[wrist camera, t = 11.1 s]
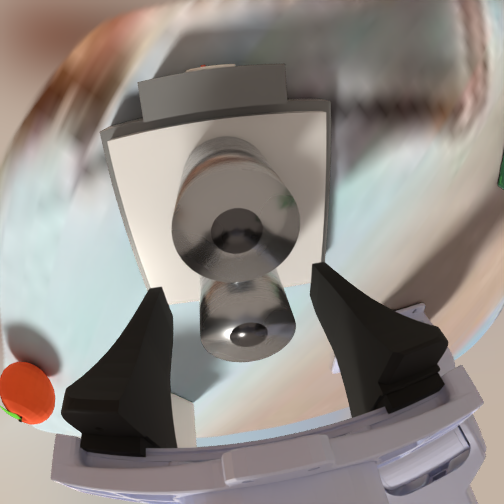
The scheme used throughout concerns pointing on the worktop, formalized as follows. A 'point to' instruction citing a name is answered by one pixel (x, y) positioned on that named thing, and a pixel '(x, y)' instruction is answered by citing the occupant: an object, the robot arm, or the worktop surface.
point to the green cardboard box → (501, 175)
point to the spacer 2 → (245, 318)
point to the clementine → (27, 393)
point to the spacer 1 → (233, 213)
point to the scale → (203, 129)
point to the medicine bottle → (183, 422)
